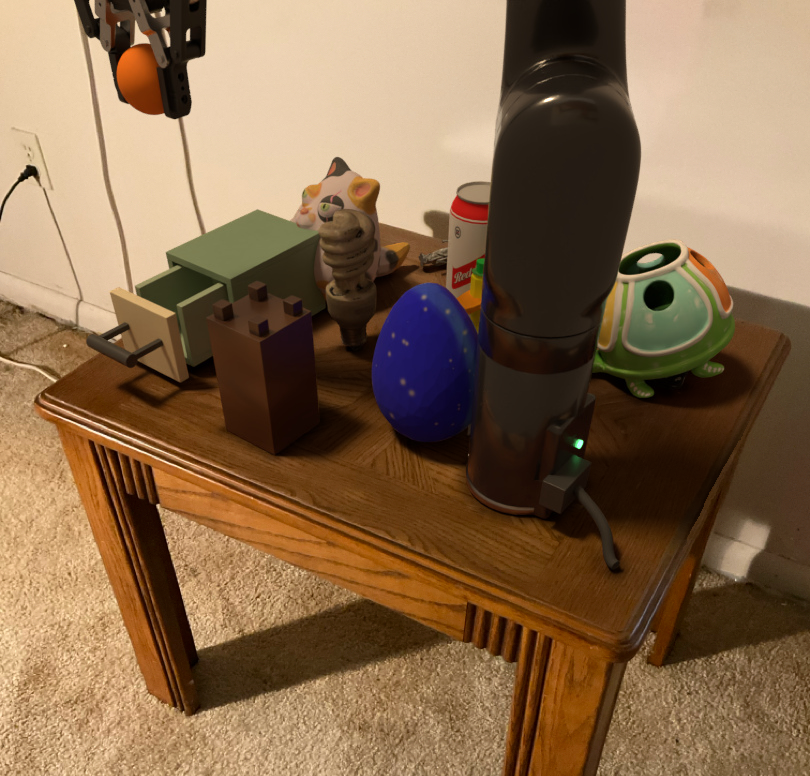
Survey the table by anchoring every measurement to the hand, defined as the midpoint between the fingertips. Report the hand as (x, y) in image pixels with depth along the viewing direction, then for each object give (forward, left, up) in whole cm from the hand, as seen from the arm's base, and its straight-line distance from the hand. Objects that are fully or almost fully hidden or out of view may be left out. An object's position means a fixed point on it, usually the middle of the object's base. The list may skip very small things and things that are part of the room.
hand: (155, 107), depth 67 cm
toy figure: (-21, -18, -26) cm, 38 cm away
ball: (0, 0, +2) cm, 2 cm away
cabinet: (+4, -12, -26) cm, 29 cm away
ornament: (-23, -7, -26) cm, 36 cm away
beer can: (-17, -24, -26) cm, 39 cm away
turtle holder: (-37, -29, -25) cm, 53 cm away
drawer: (+4, -1, -25) cm, 25 cm away
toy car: (-38, -31, -26) cm, 55 cm away
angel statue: (-4, -38, -23) cm, 45 cm away
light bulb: (-8, -14, -26) cm, 31 cm away
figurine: (0, -25, -26) cm, 36 cm away
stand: (-11, +2, -26) cm, 28 cm away
